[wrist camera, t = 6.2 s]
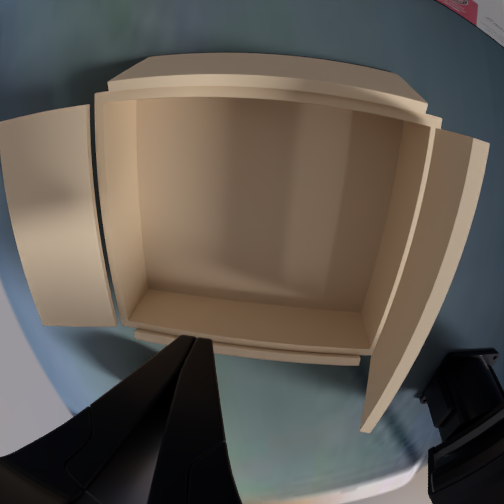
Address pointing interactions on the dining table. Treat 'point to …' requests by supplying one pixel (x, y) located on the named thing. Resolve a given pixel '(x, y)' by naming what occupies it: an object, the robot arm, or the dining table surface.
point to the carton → (260, 200)
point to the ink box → (481, 15)
